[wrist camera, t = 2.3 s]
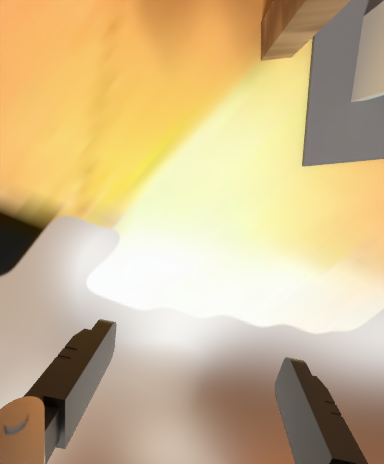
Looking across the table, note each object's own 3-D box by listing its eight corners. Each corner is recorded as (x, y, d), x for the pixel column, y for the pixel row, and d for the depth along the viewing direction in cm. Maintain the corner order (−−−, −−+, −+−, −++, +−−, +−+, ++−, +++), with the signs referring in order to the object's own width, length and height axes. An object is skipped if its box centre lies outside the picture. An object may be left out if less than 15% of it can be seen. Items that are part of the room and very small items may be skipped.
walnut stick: (261, 22, 24) (323, -96, 12) (293, 18, 23) (386, -105, 12) (260, 60, 25) (316, -15, 14) (291, 57, 25) (373, -22, 13)
